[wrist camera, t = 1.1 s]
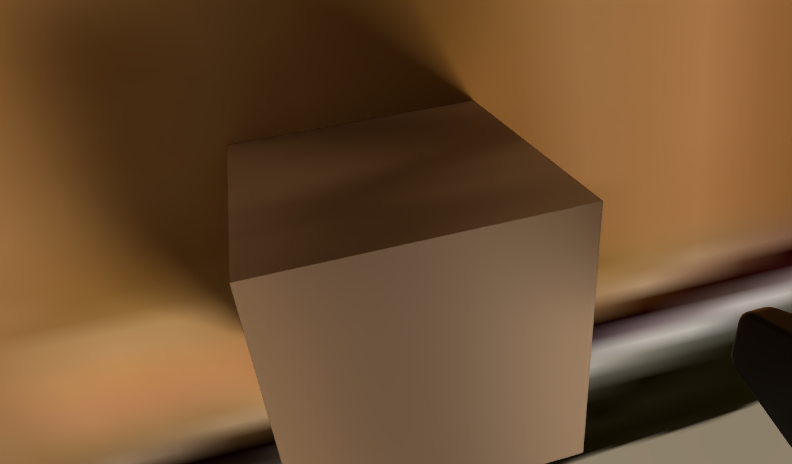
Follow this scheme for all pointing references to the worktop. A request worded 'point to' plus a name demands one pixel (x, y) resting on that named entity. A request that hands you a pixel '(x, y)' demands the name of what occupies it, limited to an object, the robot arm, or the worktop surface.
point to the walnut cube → (415, 290)
